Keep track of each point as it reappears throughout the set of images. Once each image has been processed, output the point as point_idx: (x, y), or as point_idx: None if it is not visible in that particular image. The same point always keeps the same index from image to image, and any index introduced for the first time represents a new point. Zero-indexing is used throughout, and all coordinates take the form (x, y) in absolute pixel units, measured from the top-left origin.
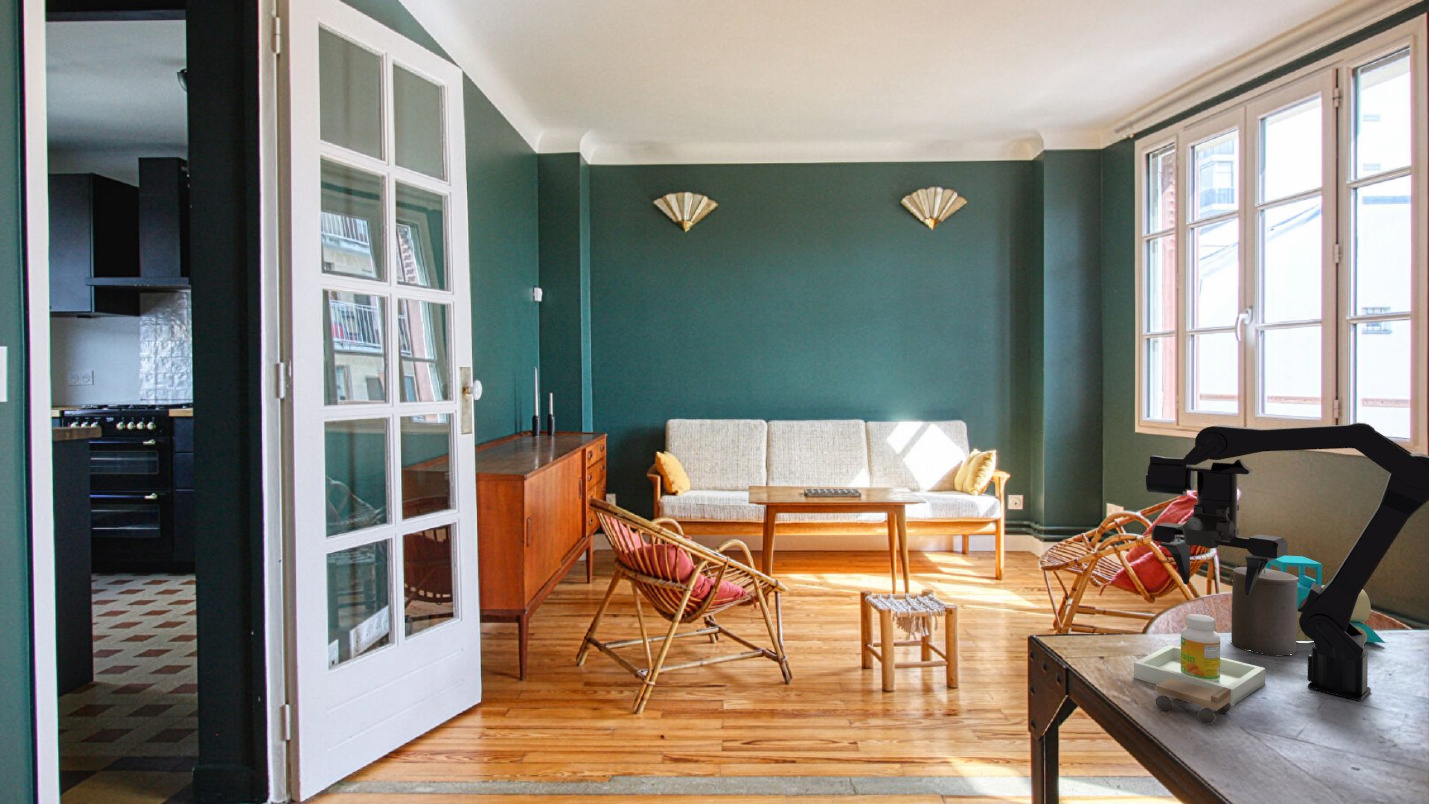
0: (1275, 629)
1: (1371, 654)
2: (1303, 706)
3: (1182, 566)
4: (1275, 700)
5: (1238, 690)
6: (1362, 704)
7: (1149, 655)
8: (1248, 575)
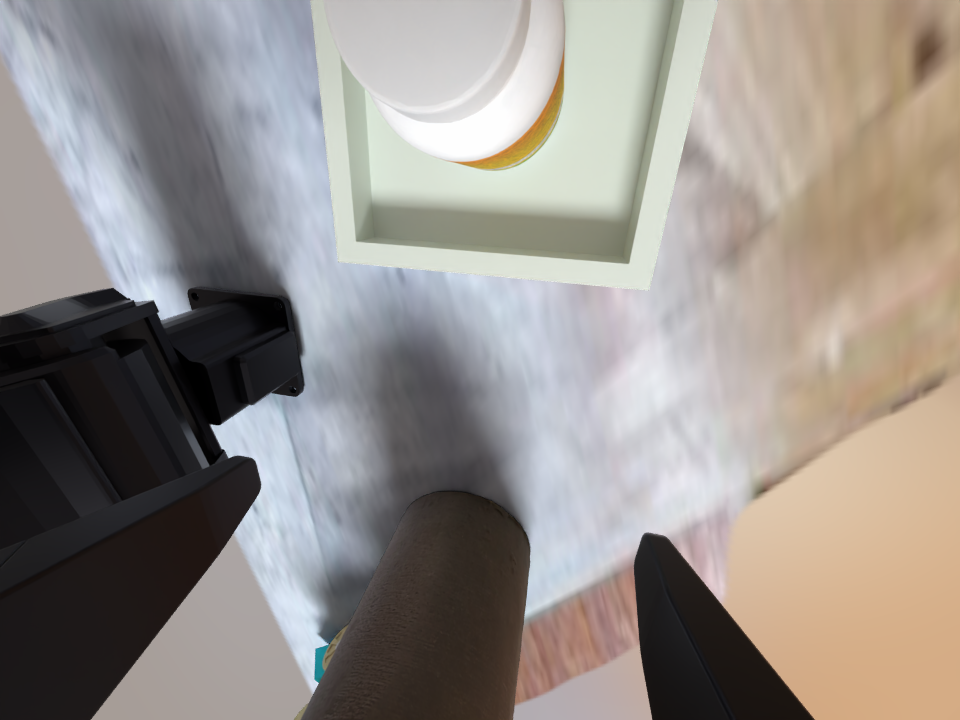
0: (397, 553)
1: (318, 597)
2: (233, 126)
3: (743, 716)
4: (290, 111)
5: None
6: (187, 274)
7: (707, 28)
8: (32, 564)
